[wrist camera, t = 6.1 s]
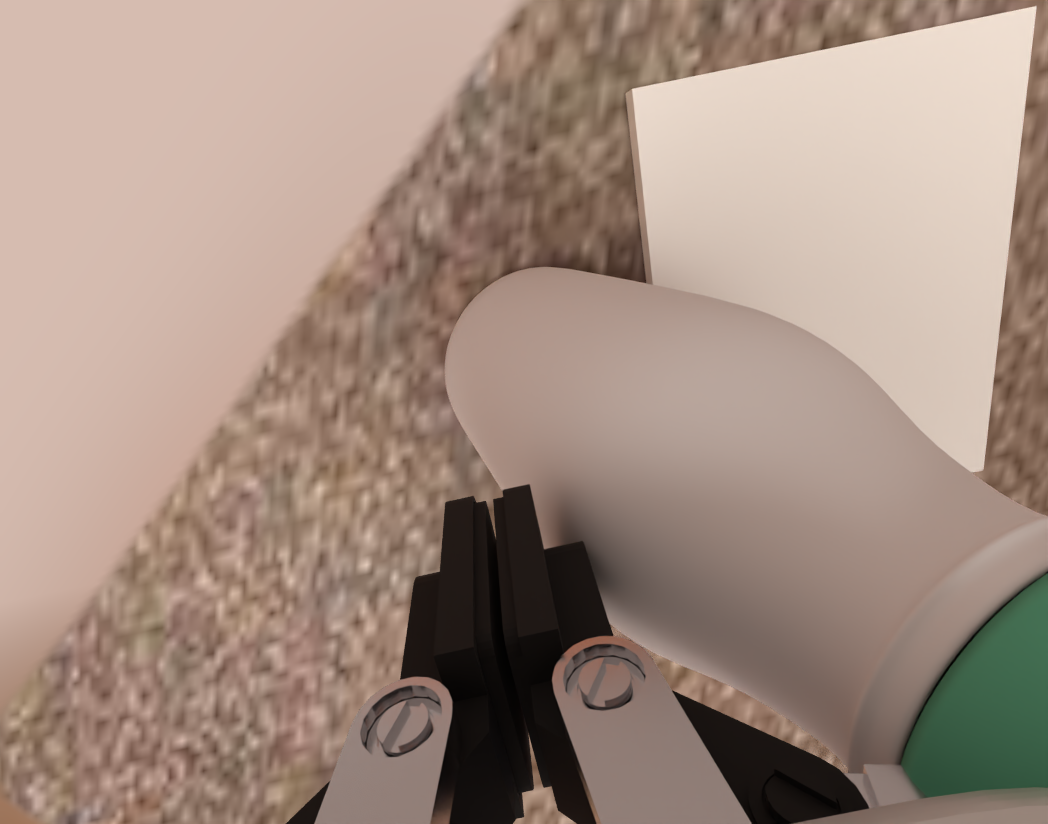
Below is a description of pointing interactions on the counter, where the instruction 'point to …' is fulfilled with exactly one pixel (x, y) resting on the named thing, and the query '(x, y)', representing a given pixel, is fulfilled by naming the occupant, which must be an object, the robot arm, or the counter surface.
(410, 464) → the counter surface
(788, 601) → the milk bottle
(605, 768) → the robot arm
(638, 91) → the cutting board
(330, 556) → the counter surface
